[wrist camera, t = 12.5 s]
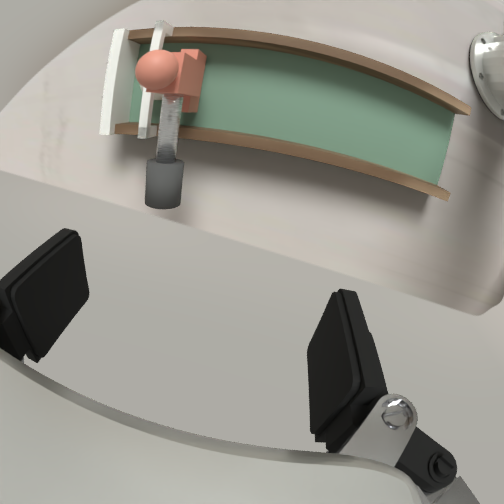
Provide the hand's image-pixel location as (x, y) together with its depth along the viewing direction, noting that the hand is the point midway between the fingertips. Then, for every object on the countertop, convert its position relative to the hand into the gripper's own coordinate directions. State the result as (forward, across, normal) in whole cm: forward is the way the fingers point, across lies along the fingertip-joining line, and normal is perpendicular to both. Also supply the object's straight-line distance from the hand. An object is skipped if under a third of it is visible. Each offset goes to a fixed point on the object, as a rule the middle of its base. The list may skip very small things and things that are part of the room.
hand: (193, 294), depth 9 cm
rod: (+20, +7, -4) cm, 21 cm away
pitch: (+22, -3, -8) cm, 23 cm away
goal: (+20, +12, -8) cm, 25 cm away
